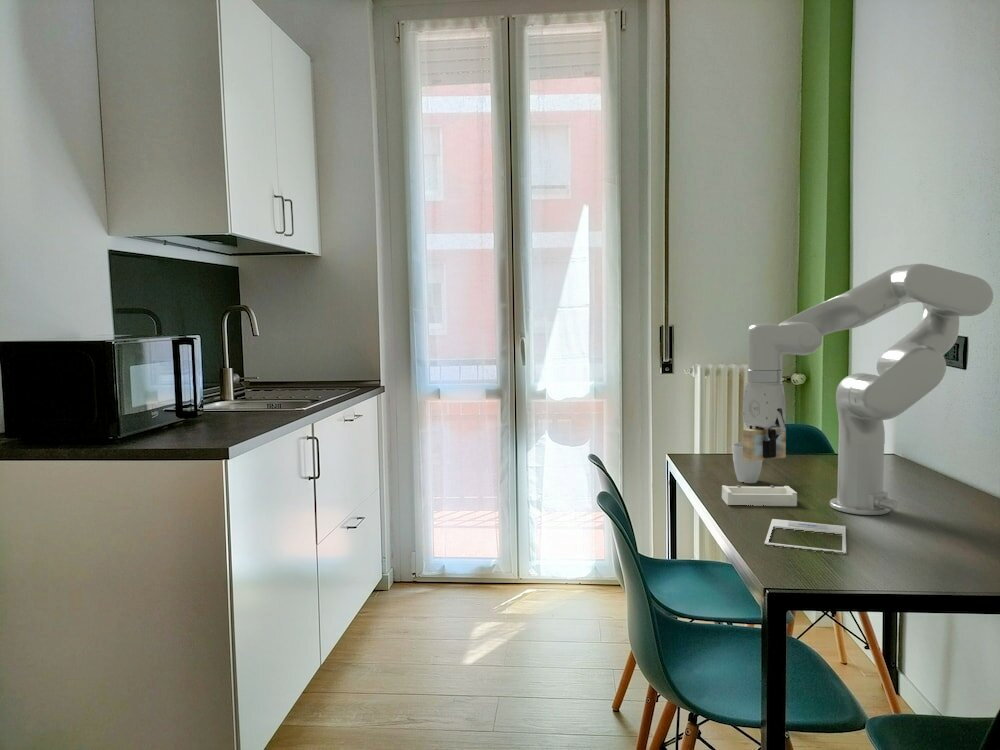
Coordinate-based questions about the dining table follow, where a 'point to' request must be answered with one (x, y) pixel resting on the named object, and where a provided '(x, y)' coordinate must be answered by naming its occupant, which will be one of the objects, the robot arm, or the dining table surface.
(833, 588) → the dining table surface
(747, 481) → the cup
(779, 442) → the oak frame
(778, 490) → the white pegged tray
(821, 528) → the photo frame
